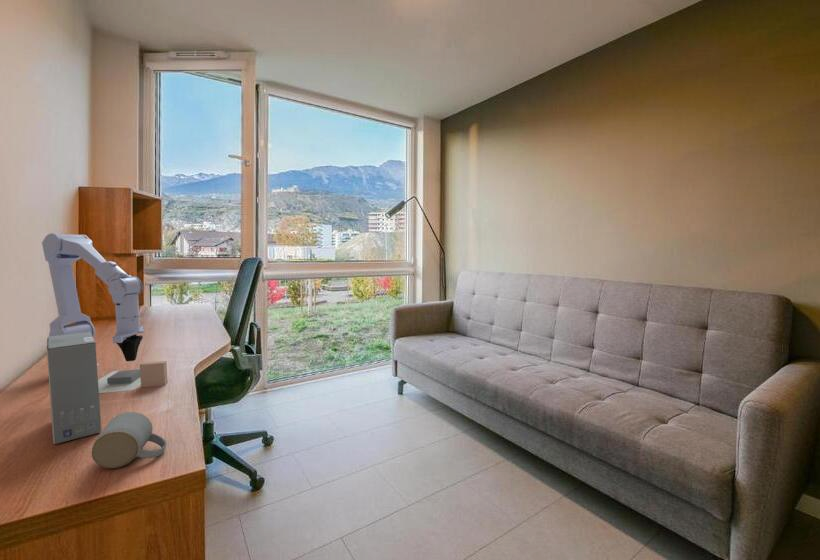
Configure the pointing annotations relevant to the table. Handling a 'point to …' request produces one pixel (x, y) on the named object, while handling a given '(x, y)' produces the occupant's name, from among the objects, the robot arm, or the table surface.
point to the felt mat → (116, 385)
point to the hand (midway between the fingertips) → (130, 360)
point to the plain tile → (153, 373)
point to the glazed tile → (124, 377)
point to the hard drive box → (73, 386)
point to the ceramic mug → (125, 441)
